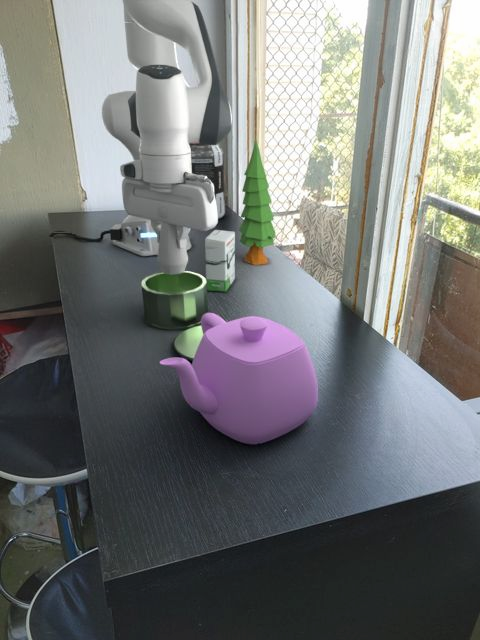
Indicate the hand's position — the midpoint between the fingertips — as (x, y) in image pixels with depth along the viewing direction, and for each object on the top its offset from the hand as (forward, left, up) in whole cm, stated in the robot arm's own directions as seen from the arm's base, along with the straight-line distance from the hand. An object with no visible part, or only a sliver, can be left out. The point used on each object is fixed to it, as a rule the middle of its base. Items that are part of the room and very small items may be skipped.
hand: (171, 245), depth 99 cm
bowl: (0, 0, -15) cm, 15 cm away
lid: (+14, -6, -14) cm, 21 cm away
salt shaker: (0, 0, -5) cm, 5 cm away
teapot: (+31, -20, -15) cm, 40 cm away
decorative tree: (-5, +38, -15) cm, 41 cm away
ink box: (-3, +19, -15) cm, 24 cm away
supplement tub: (-45, +64, -15) cm, 79 cm away
